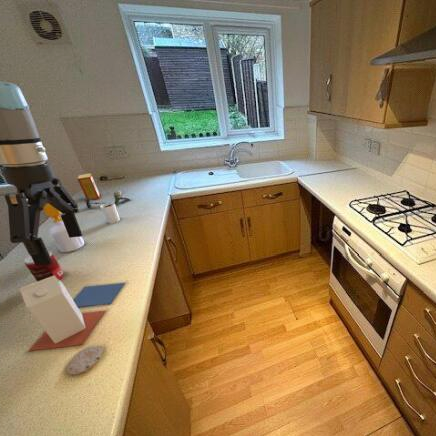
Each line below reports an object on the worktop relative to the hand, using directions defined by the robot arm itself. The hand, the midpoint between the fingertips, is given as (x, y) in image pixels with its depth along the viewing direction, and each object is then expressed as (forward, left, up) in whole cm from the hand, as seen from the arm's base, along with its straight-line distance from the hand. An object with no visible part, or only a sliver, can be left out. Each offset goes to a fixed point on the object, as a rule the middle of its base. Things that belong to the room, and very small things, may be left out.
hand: (61, 249), depth 60 cm
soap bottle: (-41, +50, -30) cm, 71 cm away
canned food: (-34, +27, -30) cm, 52 cm away
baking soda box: (-68, +115, -30) cm, 136 cm away
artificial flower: (-50, +101, -30) cm, 116 cm away
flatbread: (0, -10, -29) cm, 31 cm away
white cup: (-35, +75, -30) cm, 87 cm away
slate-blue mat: (-11, +15, -29) cm, 35 cm away
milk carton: (-11, +1, -29) cm, 31 cm away
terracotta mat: (-11, +1, -29) cm, 31 cm away
